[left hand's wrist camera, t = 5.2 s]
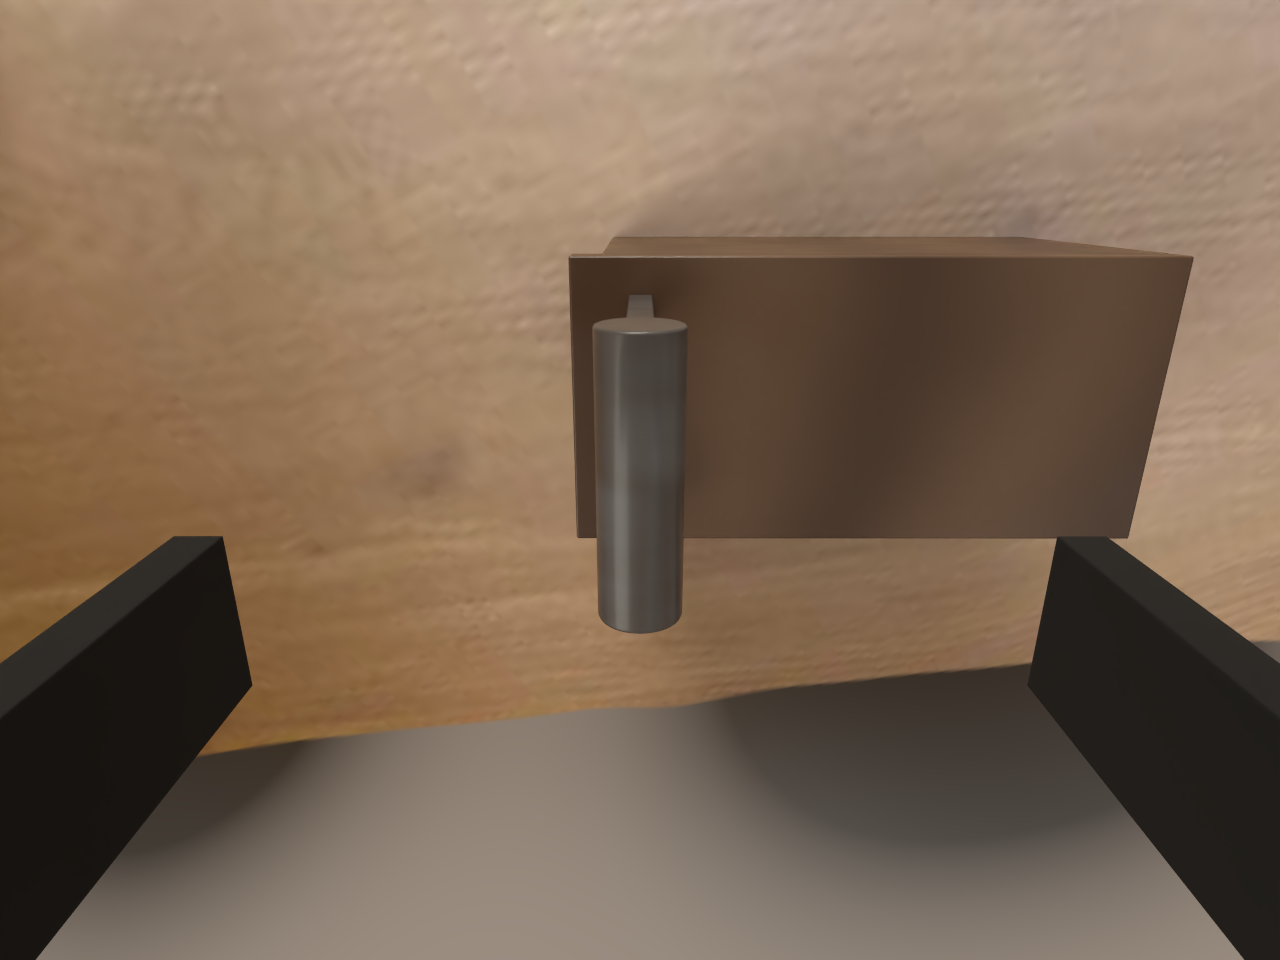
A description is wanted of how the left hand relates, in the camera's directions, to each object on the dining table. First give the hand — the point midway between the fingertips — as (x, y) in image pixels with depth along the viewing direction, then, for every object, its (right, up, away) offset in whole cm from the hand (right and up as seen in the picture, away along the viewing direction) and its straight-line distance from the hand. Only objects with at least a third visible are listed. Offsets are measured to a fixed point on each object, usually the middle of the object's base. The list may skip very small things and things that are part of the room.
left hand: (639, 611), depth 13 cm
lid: (+7, +5, +13) cm, 16 cm away
